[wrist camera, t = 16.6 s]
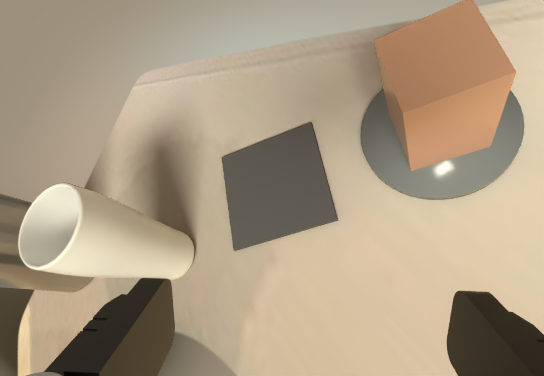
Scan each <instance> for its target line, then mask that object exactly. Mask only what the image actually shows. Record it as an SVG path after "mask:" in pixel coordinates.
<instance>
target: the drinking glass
mask: <svg viewBox="0 0 544 376" xmlns="http://www.w3.org/2000/svg"><path fill="white" fill-rule="evenodd" d="M18 249H19V254H20V257H21V259H22V261H23V263H24V264H25V265H26V266H27V267H29V268H31V269H33V270H39V271H45V272H50V273H56V274H63V275H70V276H81V277H106V278H167V279H169V280H175V279H178V278H180V277H181V276H183V275H184V274H185V273H186V272H187V271H188V270H189V268H190V267H191V265H192V262H193V259H194V245H193V242H192V240H191V239H190V237H189V236H188V235H187V234H185V233H183V232H181V231H178V230H176V229H173V228H171V227H169V226H167V225H165V224H163V223H161V222H158V221H156V220H154V219H152V218H150V217H148V216H146V215H144V214H142V213H140V212H138V211H136V210H134V209H132V208H130V207H128V206H126V205H124V204H122V203H120V202H118V201H116V200H114V199H112V198H109V197H107V196H104V195H102V194H99V193H97V192H94V191H91V190H88V189H85V188H82V187H79V186H75V185H72V184H69V183H58V184H55V185H53V186H51V187H49V188H47V189H46V190H44V191H43V192H42V193H41V194H40V195H39V196H38V197H37V198H36V199H35V200H34V202H33V203H32V204H31V206H30V207H29V209H28V211H27V213H26V215H25V217H24V219H23V222H22V224H21V228H20V232H19V238H18Z"/></svg>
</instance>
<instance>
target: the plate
mask: <svg viewBox="0 0 544 376" xmlns="http://www.w3.org/2000/svg"><path fill="white" fill-rule="evenodd" d="M523 134H524V119H523V114H522V110H521V107H520V105H519V103H518V101H517V99H516V97H515V96H514V94H513V93H512V92H511V90H510V91H509V94H508V97H507V100H506V103H505V106H504V109H503V112H502V115H501V118H500V121H499V124H498V126H497V129H496V132H495V135H494V138H493V141H492V144H491V146H490V147H487V148H484V149H481V150H478V151H474V152H471V153H468V154H465V155H462V156H459V157H455V158H452V159H449V160H446V161H443V162H439V163H436V164H433V165H430V166H427V167H423V168H420V169H417V170H414V171H411V170H410V168H409V165H408V162H407V160H406V157H405V155H404V152H403V149H402V147H401V144H400V141H399V139H398V136H397V133H396V131H395V128H394V126H393V123H392V120H391V118H390V115H389V112H388V107H387V102H386V98H385V93H384V89H383V90H382V91H381V92H380V93H379V94H378V95H377V96H376V97H375V99H374V100H373V101H372V103H371V104H370V106H369V108H368V110H367V112H366V114H365V117H364V119H363V123H362V128H361V143H362V148H363V152H364V155H365V157H366V159H367V162H368V164H369V166H370V167H371V169H372V170H373V172H374V173H375V174H376V175H377V176H378V177H379V178H380V179H381V180H382V181H383V182H384V183H385V184H387V185H388V186H390V187H391V188H393V189H395V190H397V191H399V192H401V193H403V194H406V195H409V196H412V197H416V198H421V199H429V200H444V199H453V198H457V197H462V196H465V195H468V194H471V193H474V192H476V191H478V190H480V189H482V188H484V187H486V186H488V185H489V184H491V183H492V182H494V181H495V180H496V179H497V178H498V177H500V176H501V175H502V174H503V173H504V172H505V171H506V169H507V168H508V167H509V166H510V164H511V163H512V161H513V160H514V158H515V156H516V154H517V152H518V150H519V148H520V146H521V143H522V139H523Z"/></svg>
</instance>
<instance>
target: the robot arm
mask: <svg viewBox="0 0 544 376" xmlns="http://www.w3.org/2000/svg"><path fill="white" fill-rule="evenodd" d="M31 204H32V203H31V202H27V201H24V200H20V199H17V198H13V197H10V196H6V195H3V194H0V287H10V288H24V289H36V290H47V291H61V292H74V291H77V290H80V289H82V288H83V287H84V286H86V285H87V284H88V283H89V282H90V281H91V280H92V279H93V277H81V276H70V275H63V274H56V273H50V272H45V271H39V270H33V269H31V268H29V267H27V266H26V265H25V264H24V263H23V261H22V259H21V257H20V254H19V249H18V238H19V232H20V228H21V224H22V222H23V219H24V217H25V215H26V213H27V211H28V209H29V207H30V206H31ZM174 330H175V323H174V310H173V298H172V286H171V282H170V280H169V279H167V278H141V279H140V280H139V281H138V282H137V284H136V285H135V286H134V287H133V288H132V290H131V291H130V292H129V293H128V294H127V295H124V294H121V295H120V296H118V297H116V298H115V299H113V300H112V301H110V302H108V303H107V304H105V305H104V306H103V307H102V308H101V309H100V310H99V312H98V313H97V314H96V315H95V316H94V317H93V320H90V321H89V323H88V324H87V325H86V326H85V327H84V328H83V331H80V333H79V334H78V335H77V336H76V337H75V338H74V339H73V340H72V341H71V342H70V344H69V345H68V346H67V347H66V348H65V349H64V350H63V351H62V352H61V353H60V355H59V356H58V357H57V358H56V359H55V360H54V361H53V362H52V363H51V365H50V366H49V367H48V368H47V369H46V370H45V371H44V372H39V373H34V374H30V375H27V376H157V375H158V373H159V371H160V369H161V367H162V365H163V362H164V361H165V358H166V356H167V354H168V352H169V350H170V348H171V346H172V342H173V338H174ZM447 351H448V356H449V359H450V362H451V364H452V366H453V368H454V369H455V371H456V373H457V374H458V376H544V335H543V334H542V333H541V332H540V331H539V330H538V329H537V328H536V327H535V326H534V325H533V324H531V323H529V322H528V321H526V320H524V319H523V318H521V317H520V316H518V315H516V314H515V313H513V312H508V311H507V310H506V309H505V307H504V306H503V305H502V304H501V303H500V302H499V301H498V300H497V299H496V298H495V297H494V296H493V295H492V294H491V293H489V292H475V291H458V292H456V294H455V295H454V299H453V305H452V311H451V317H450V323H449V329H448V335H447Z"/></svg>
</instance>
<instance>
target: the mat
mask: <svg viewBox="0 0 544 376" xmlns="http://www.w3.org/2000/svg"><path fill="white" fill-rule="evenodd" d="M222 163H223V171H224V179H225V187H226V194H227V202H228V210H229V218H230V225H231V233H232V241H233V248H234V250H235V251H236V250H240V249H243V248H247V247H250V246H253V245H257V244H260V243H263V242H267V241H270V240H273V239H277V238H280V237H284V236H287V235H290V234H294V233H297V232H300V231H304V230H307V229H311V228H314V227H317V226H321V225H324V224H327V223H331V222H334V221H338V218H337V215H336V211H335V207H334V203H333V200H332V196H331V192H330V189H329V185H328V181H327V177H326V174H325V170H324V166H323V163H322V159H321V155H320V151H319V148H318V144H317V140H316V137H315V133H314V129H313V125H312V123H309V124H306V125H303V126H301V127H298V128H296V129H293V130H291V131H288V132H286V133H283V134H281V135H278V136H276V137H273V138H270V139H268V140H265V141H263V142H260V143H258V144H255V145H253V146H250V147H248V148H245V149H243V150H240V151H237V152H235V153H232V154H230V155H227V156H225V157H222Z"/></svg>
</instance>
